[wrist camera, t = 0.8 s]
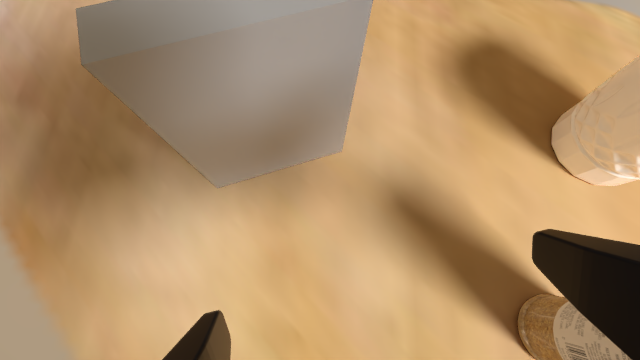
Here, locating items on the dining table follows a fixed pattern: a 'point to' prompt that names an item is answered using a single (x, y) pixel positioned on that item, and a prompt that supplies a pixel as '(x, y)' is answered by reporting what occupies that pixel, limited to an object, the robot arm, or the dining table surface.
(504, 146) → the dining table surface
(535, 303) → the sprinkles bottle
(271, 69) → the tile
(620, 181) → the white cup
